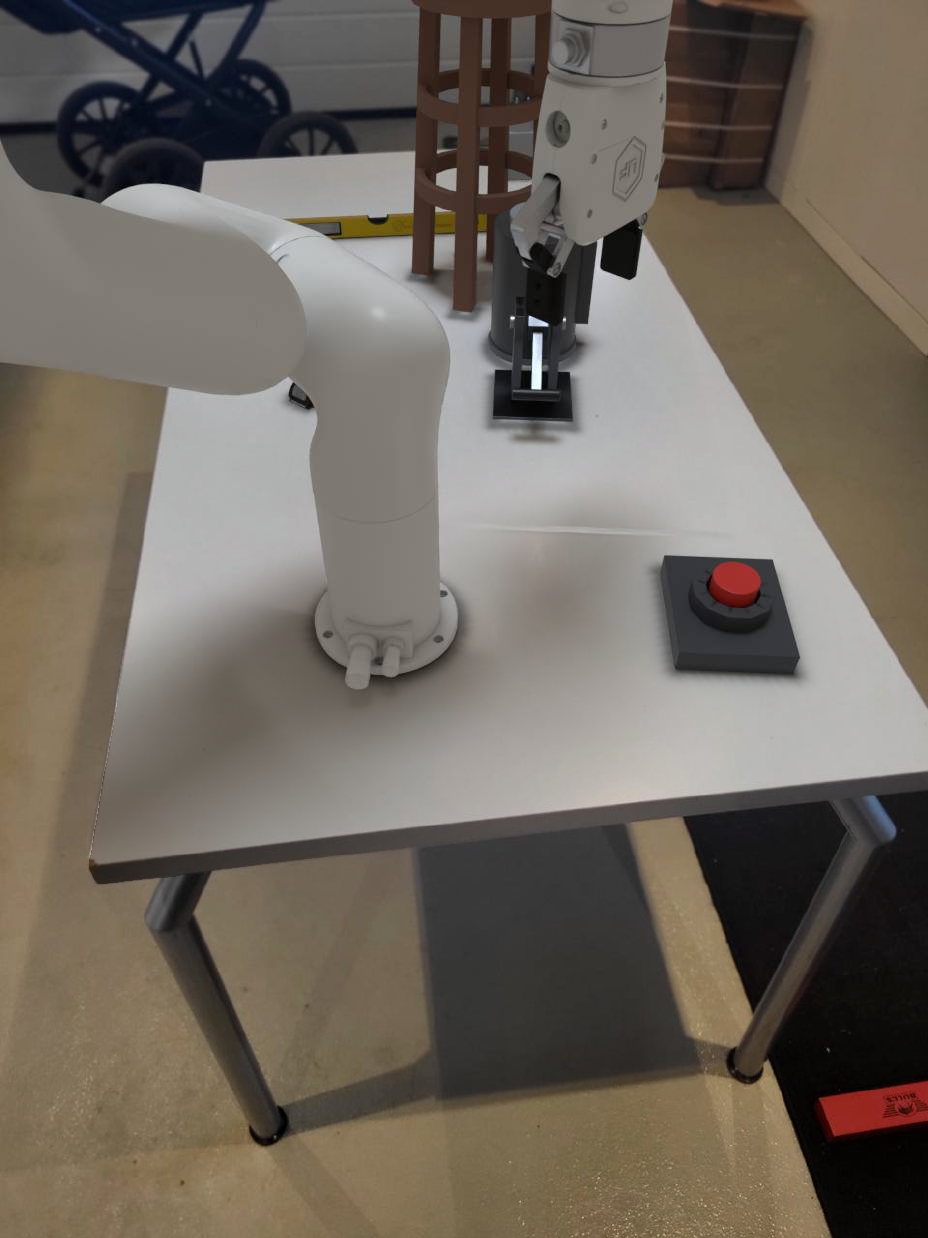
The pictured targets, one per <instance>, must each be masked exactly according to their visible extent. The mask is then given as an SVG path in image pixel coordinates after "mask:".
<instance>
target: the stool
mask: <svg viewBox="0 0 928 1238" xmlns="http://www.w3.org/2000/svg"><path fill="white" fill-rule="evenodd" d="M411 3H412V4H413V5H415V6H416V7H418V8H419V16H418V17H419V19H418V20H419V21H418V24H419V25H418V52H417V83H416V85H417V86H416V114H415V115H416V117H415V119H416V120H415V146H414V147H415V148H414V149H415V152H414V154H415V155H414V180H413V181H414V182H413V183H414V184H413V212H412V213H413V234H412V243H411V245H412V248H411V274H414V275H415V274H416V275H421V276H422V275H423V276H429V275H430V274H431V272H432V271H433V270H434V269H435V243H436V241H435V239H436V238H435V237H436V233H435V212H436V208H439V209H441V210H444V211H454V212H455V232H454V249H453V250H454V252H453V253H454V256H453V289H452V291H453V292H452V310H453V311H457V312H464V313H472V312H473V310H474V308H475V306H476V305H477V282H478V281H477V279H478V277H477V275H478V241H479V240H478V239H479V238H478V237H479V231H478V214H484V215H486V214H487V229H486V231H485V233H486V234H485V262H491V263H493V251H494V223H495V220H496V218H497V217H498V216H499V215H500V214H501V213H503V212H505V211H507V210H510V209H512V208H513V207H514V206H516V205H518V204H520V203H524V202H527V200H528V199H529V198H530V196H531V187H532V183H531V184H528V185H526V186H524V187H522V188H520V189H515V190H511V191H509V180H508V169H511V170H514V171H517V172H520V173H523V174H525V175H527V176H528V177H530V178H532V173H533V162H534V152H535V144H536V136H537V129H538V122H539V116H540V110H541V104H542V98H543V93H544V88H545V83H546V78H547V75H548V74H550V72H549V70H548V58H549V40H550V23H551V8H552V0H411ZM442 15H444V16H451V17H458V18H460V23H459V24H460V26H459V28H460V30H459V31H460V32H459V60H458V61H459V65H458V68H456V69H455V68H454V69H449V70H443V71H440V63H441V32H442V31H441V30H442V29H441V28H442V27H441V26H442ZM532 16H533V17H534V16H535V17H534V18H535V19H534V20H535V22H534V65H533V66H534V71H533V73H534V74H530V73H526V72H523V71H519V70H513V69H511V66H512V62H511V61H512V26H513V25H512V21H513V20H512V19H515V18H516V19H517V18H525V17H532ZM484 19H490V21H491V23H490V24H491V25H490V59H489V60H490V61H489V62H490V63H489V65H490V66H489V67H483V34H484V32H483V31H484V29H483V28H484ZM482 87H484V88H485V87H487V88H488V87H489V101H488V102H489V106H487V105H482ZM455 89H458V99H457V100H458V102H457V103H455V102H450V101H447V100H443V99H441V98H440V93H443V92H446V91H449V90H455ZM511 90H514V91H517V92H521V93H524V94H526V95H529V97H532V98H529V100H524V101H522V102H518V103H516V102H515V103H512V104H511ZM532 120H533V157H531V156H528V155H525V154H522V153H519V152H515V151H509V126H511V125H516V124H522V123H527V122H530V121H532ZM439 122H442V123H444V124H451V125H456V126H457V136H456V137H457V138H456V139H457V140H456V141H457V142H456V143H457V144H456V148H455V149H450V150H446V151H445V150H444V151H441V152H438V135H439V134H438V133H439V128H438V127H439ZM481 128H488V144H487V145H488V146H487V147H481ZM480 167H487V187H486V188H487V189H486V190H487V191H486V193H480ZM453 169H456V175H455V176H456V177H455V178H456V179H455V190H453V189H452V190H451V189H448V188H446V187H443V186H440V185H437V174H440V173H442V172H445V171H448V170H449V171H450V170H453Z"/></svg>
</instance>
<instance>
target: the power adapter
mask: <svg viewBox="0 0 928 1238" xmlns="http://www.w3.org/2000/svg"><path fill="white" fill-rule="evenodd" d="M527 100H530V96H527ZM527 100H526V101H527ZM518 101H519V98H518V97H516V98H515V104H516V103H519V102H518ZM509 151H515V152H519V153H522V154H525V155H528V156H531V157H533V120H532V121H530V122H527V123H522V124H516V125H511V126H509ZM512 180H513V181H515V180H532V178H530V177H528V176H527V175H525V174H523V173H520V172H517V171H514V170H511V169H508V181H512Z"/></svg>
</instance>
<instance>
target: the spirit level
mask: <svg viewBox="0 0 928 1238" xmlns="http://www.w3.org/2000/svg"><path fill="white" fill-rule="evenodd" d="M282 219H283V220H286V221H290V222H293V223H296V224H299V225H301V226H304V227H307V228H310V229H312V230H315V231H317V232H319V233H321V234H323V235H325V236H327V237H329V238H330V239H342V238H343V239H344V238H363V237H384V236H385V237H386V236H405V235H407V236H408V235H413V212H405V213H404V212H403V213H387V214H386V216H380V217H379V216H378V217H377V216H375V217H370V216H369V214H361V215H359V214H358V215H339V216H338V215H337V216H317V217H316V216H315V217H295V218H293V217H292V218H282ZM486 229H487V214H486V215H484V214H478V232H486ZM446 233H447V234H449V233H455V212H454V211H449V210H445V211H435V234H446Z"/></svg>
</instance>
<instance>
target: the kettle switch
mask: <svg viewBox="0 0 928 1238" xmlns="http://www.w3.org/2000/svg"><path fill="white" fill-rule="evenodd" d="M548 328H549V324H548V323H545V322H543V321H541V320H538V319H536V318H534V317H531V316H529V315H528V318H527V340H532V362H531V366H530V369H531V370H530V371H531V389H528V388H513V389H512V400H535V401H560V390H558V389H542V371H543V366H542V351H543V340H547V336H548Z"/></svg>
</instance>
